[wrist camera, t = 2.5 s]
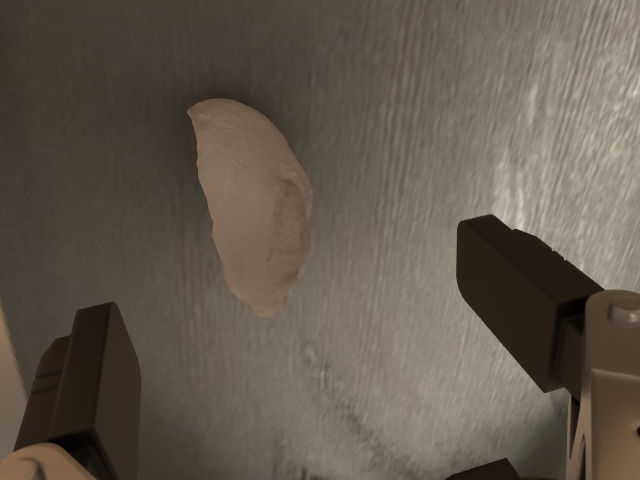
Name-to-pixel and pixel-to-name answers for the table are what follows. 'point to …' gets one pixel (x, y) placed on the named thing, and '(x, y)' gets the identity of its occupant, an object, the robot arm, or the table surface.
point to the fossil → (253, 201)
